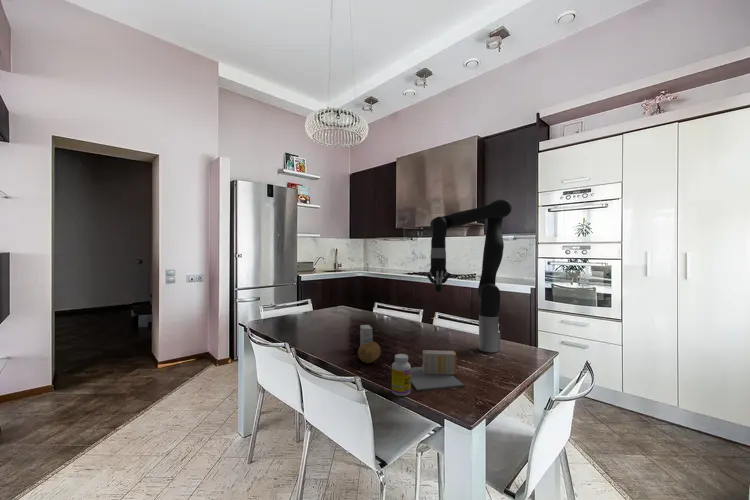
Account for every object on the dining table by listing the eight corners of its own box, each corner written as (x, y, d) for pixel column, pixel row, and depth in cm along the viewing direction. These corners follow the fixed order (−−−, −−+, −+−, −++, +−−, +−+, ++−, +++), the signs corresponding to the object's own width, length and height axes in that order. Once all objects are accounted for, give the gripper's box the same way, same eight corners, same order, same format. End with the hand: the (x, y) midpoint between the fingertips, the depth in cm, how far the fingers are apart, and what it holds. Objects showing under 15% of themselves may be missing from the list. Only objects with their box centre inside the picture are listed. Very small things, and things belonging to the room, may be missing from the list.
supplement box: (454, 350, 131) (422, 349, 132) (456, 354, 126) (423, 353, 127) (454, 370, 131) (422, 369, 132) (456, 375, 127) (423, 373, 127)
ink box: (373, 353, 155) (373, 328, 155) (362, 353, 154) (362, 329, 153) (369, 347, 163) (369, 324, 163) (359, 348, 162) (359, 324, 162)
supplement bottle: (405, 398, 108) (405, 360, 108) (388, 394, 111) (388, 357, 111) (413, 391, 113) (413, 355, 113) (397, 386, 117) (397, 351, 117)
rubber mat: (440, 366, 137) (440, 365, 137) (463, 386, 118) (463, 384, 118) (400, 369, 133) (400, 368, 133) (417, 390, 114) (417, 389, 114)
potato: (352, 365, 137) (352, 347, 137) (364, 355, 151) (364, 338, 151) (373, 369, 134) (373, 350, 134) (384, 358, 147) (384, 341, 147)
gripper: (447, 257, 164) (447, 290, 164) (423, 257, 161) (422, 291, 161) (454, 257, 157) (453, 292, 157) (428, 257, 154) (428, 293, 154)
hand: (438, 291), depth 159 cm, fingers closed
